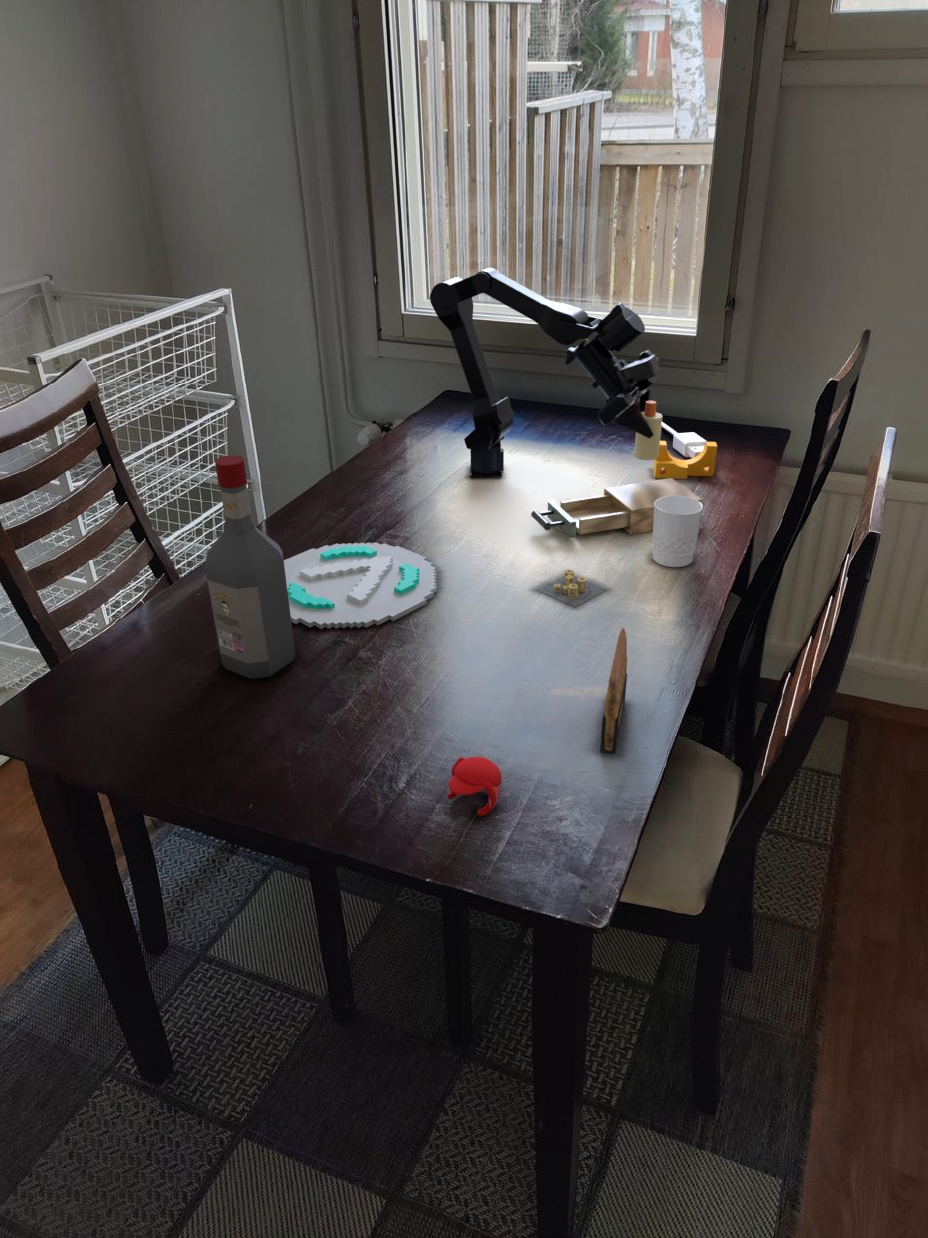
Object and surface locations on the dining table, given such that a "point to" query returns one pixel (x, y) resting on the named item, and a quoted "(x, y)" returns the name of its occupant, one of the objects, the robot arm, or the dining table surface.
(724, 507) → the dining table surface
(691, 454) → the charging cable
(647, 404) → the glue bottle
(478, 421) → the robot arm
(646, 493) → the cabinet
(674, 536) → the white cup
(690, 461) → the pipe clamp
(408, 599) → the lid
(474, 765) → the cap
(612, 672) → the ammunition clip
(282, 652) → the liquor
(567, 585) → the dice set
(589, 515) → the drawer
